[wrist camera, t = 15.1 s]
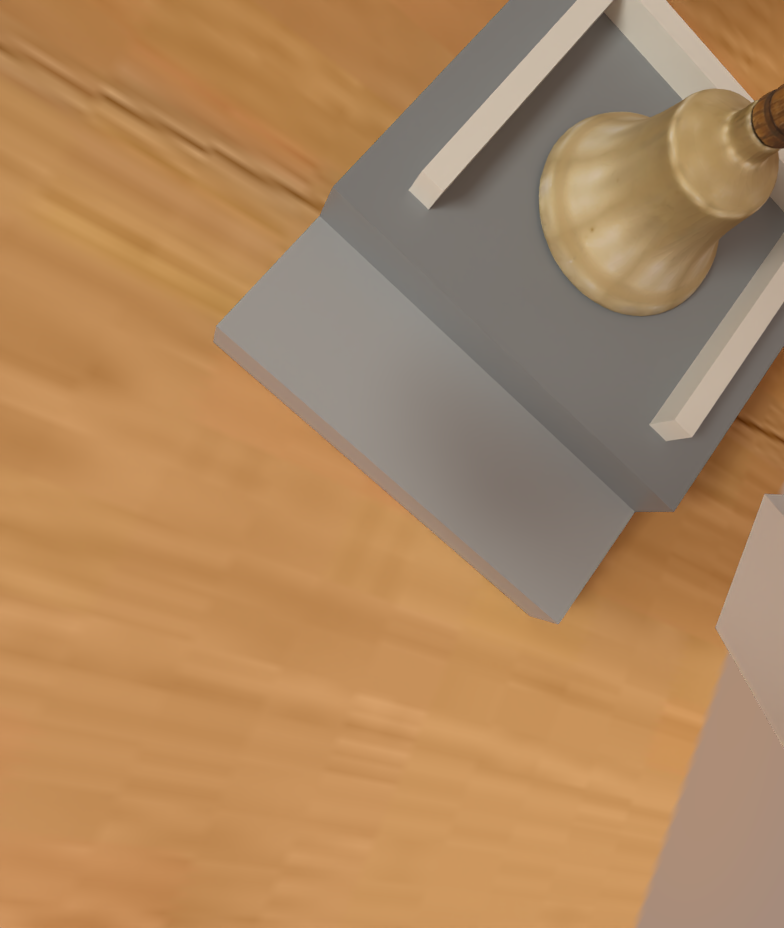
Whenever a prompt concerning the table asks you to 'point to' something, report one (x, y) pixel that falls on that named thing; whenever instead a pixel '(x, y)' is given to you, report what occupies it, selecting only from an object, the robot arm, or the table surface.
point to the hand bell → (657, 195)
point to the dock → (514, 309)
